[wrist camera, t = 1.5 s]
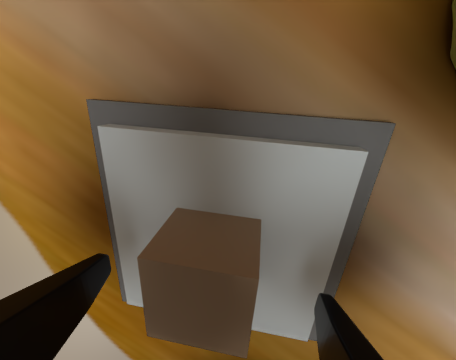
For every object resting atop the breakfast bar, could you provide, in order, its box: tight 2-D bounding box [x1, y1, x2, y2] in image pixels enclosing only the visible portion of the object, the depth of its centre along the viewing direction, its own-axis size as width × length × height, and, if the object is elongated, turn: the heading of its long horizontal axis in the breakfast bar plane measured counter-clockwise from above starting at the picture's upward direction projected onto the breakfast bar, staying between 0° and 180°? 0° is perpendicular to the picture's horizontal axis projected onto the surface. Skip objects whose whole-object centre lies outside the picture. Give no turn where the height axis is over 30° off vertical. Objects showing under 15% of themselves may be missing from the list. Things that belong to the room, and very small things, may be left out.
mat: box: [86, 99, 395, 341], centre depth 12 cm, size 13×13×1 cm
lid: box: [97, 124, 368, 359], centre depth 9 cm, size 11×11×4 cm
